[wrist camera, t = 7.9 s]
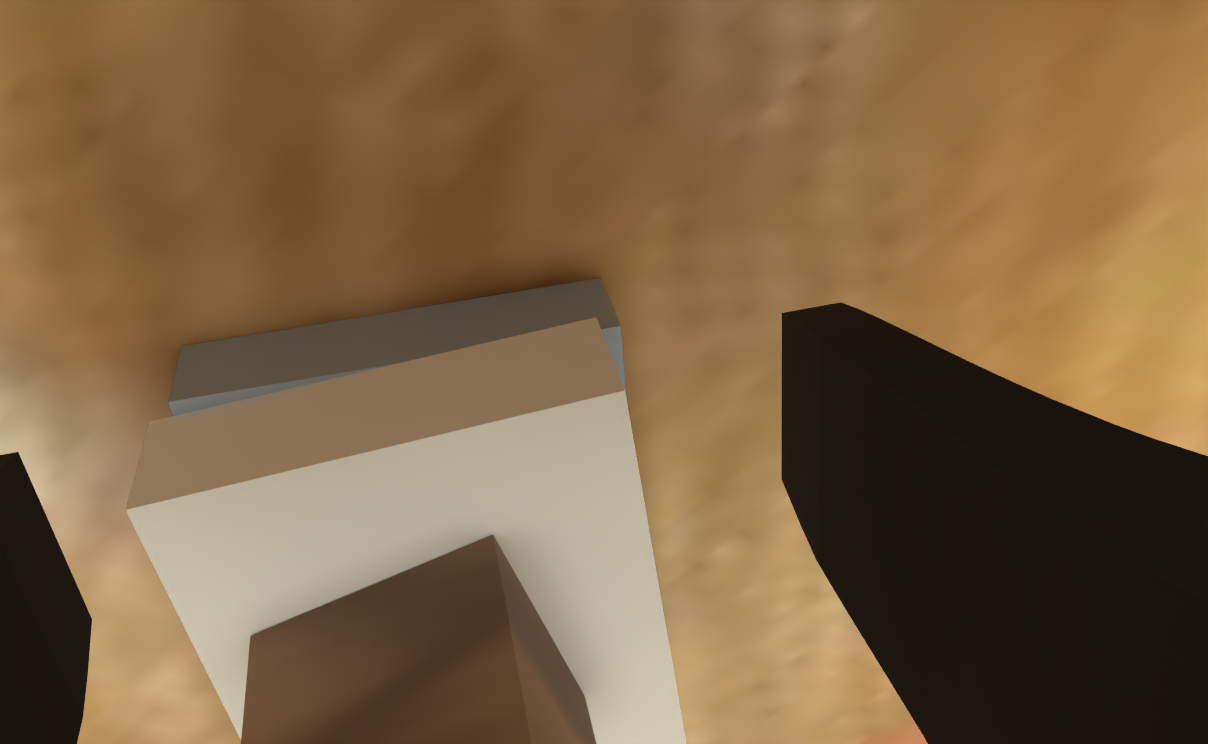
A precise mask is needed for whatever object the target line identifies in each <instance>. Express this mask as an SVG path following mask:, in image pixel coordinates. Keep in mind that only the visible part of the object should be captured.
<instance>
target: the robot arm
mask: <svg viewBox="0 0 1208 744" xmlns="http://www.w3.org/2000/svg"><path fill="white" fill-rule="evenodd" d="M782 481H783V483H784V486H785V488H786V491H787V493H788V495H789V498H790V500H791V503H792V505H793V507H794V510H795V512H796V515H797V517H798V519H799V522H800V524H801V527H802V529H803V531H804V533H805V535H806V538H807V540H808V542H809V544H810V547H811V549H812V551H813V553H814V555H815V558H816V560H817V562H818V563H819V565H820V567H821V568H822V570H823V572H824V574H825V575H826V577H827V579H828V580H829V582H830V584H831V585H832V587H833V589H834V590H835V592H836V594H837V595H838V597H839V599H840V600H841V602H842V604H843V605H844V607H845V609H846V610H847V612H848V614H849V615H850V617H851V618H852V620H853V622H854V623H855V625H856V627H857V628H858V630H859V632H860V633H861V635H862V636H863V638H864V640H865V641H866V643H867V645H868V646H869V648H870V649H871V651H872V653H873V654H874V656H875V658H876V659H877V661H878V662H879V664H880V666H881V667H882V669H883V671H884V672H885V674H886V675H887V677H888V679H889V680H890V682H891V684H892V685H893V687H894V688H895V690H896V692H897V693H898V695H899V697H900V698H901V700H902V701H903V703H904V705H905V706H906V708H907V710H908V711H909V713H910V714H911V716H912V718H913V719H914V721H915V723H916V724H917V726H918V727H919V729H920V731H921V732H922V734H923V736H924V737H925V739H926V741H927V743H928V744H1208V456H1205V455H1202V454H1199V453H1196V452H1193V451H1190V450H1187V449H1184V448H1180V447H1177V446H1174V445H1171V444H1168V443H1165V442H1162V441H1159V440H1156V439H1153V438H1150V437H1147V436H1144V435H1142V434H1139V433H1136V432H1133V431H1131V430H1128V429H1125V428H1122V427H1120V426H1117V425H1114V424H1112V423H1109V422H1107V421H1104V420H1102V419H1099V418H1097V417H1094V416H1092V415H1089V414H1087V413H1085V412H1082V411H1080V410H1077V409H1075V408H1072V407H1070V406H1067V405H1065V404H1062V403H1060V402H1057V401H1055V400H1052V399H1050V398H1048V397H1045V396H1043V395H1041V394H1039V393H1036V392H1034V391H1032V390H1030V389H1027V388H1025V387H1023V386H1020V385H1018V384H1016V383H1014V382H1012V381H1009V380H1007V379H1005V378H1003V377H1001V376H998V375H996V374H994V373H992V372H990V371H988V370H986V369H983V368H981V367H979V366H977V365H975V364H973V363H971V362H969V361H966V360H964V359H962V358H960V357H958V356H956V355H954V354H952V353H950V352H948V351H946V350H944V349H942V348H939V347H937V346H935V345H933V344H931V343H929V342H927V341H925V340H923V339H921V338H919V337H917V336H915V335H913V334H911V333H909V332H907V331H904V330H902V329H900V328H898V327H896V326H894V325H892V324H890V323H888V322H886V321H884V320H881V319H879V318H877V317H875V316H873V315H870V314H868V313H866V312H864V311H861V310H859V309H857V308H854V307H851V306H849V305H846V304H844V303H835V304H830V305H824V306H819V307H813V308H808V309H802V310H797V311H791V312H786V313H782ZM91 623H92V619H91V616H90V614H89V612H88V609H87V607H86V605H85V603H84V600H83V598H82V596H81V594H80V591H79V589H78V587H77V585H76V582H75V580H74V578H73V576H72V573H71V571H70V569H69V566H68V564H67V562H66V560H65V557H64V555H63V553H62V551H61V548H60V546H59V544H58V542H57V539H56V537H55V535H54V532H53V530H52V528H51V526H50V523H49V521H48V519H47V517H46V514H45V512H44V510H43V508H42V505H41V503H40V501H39V498H38V496H37V494H36V492H35V489H34V487H33V485H32V483H31V480H30V478H29V476H28V474H27V471H26V469H25V467H24V465H23V462H22V460H21V458H20V455H19V453H18V452H16V453H10V454H5V455H0V744H77V740H78V736H79V731H80V727H81V723H82V718H83V710H84V701H85V692H86V683H87V674H88V662H89V649H90V636H91Z"/></svg>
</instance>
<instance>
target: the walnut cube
mask: <svg viewBox="0 0 1208 744" xmlns="http://www.w3.org/2000/svg"><path fill="white" fill-rule="evenodd" d="M241 744H596V740H595V736H594V732H593V728H592V724H591V720H590V715H589V711H588V707H587V703H586V699H585V696H584V694H583V692H582V690H581V688H580V687H579V685H578V683H577V681H576V680H575V678H574V676H573V674H572V673H571V671H570V669H569V667H568V666H567V664H566V662H565V660H564V659H563V657H562V655H561V653H560V651H559V650H558V648H557V646H556V644H555V643H554V641H553V639H552V637H551V636H550V634H549V632H548V630H547V629H546V627H545V625H544V623H543V621H542V620H541V618H540V616H539V614H538V613H537V611H536V609H535V607H534V606H533V604H532V602H531V600H530V599H529V597H528V595H527V593H526V592H525V590H524V588H523V586H522V585H521V583H520V581H519V579H518V578H517V576H516V574H515V572H514V571H513V569H512V567H511V565H510V563H509V562H508V560H507V558H506V556H505V555H504V553H503V551H502V549H501V548H500V546H499V544H498V542H497V541H496V539H495V537H494V535H491V536H488V537H486V538H483V539H481V540H479V541H476V542H474V543H472V544H469V545H467V546H464V547H462V548H460V549H457V550H455V551H453V552H450V553H448V554H445V555H443V556H441V557H438V558H436V559H434V560H431V561H429V562H426V563H424V564H422V565H419V566H417V567H415V568H412V569H410V570H407V571H405V572H403V573H400V574H398V575H396V576H393V577H391V578H388V579H386V580H384V581H381V582H379V583H377V584H374V585H372V586H369V587H367V588H365V589H362V590H360V591H358V592H355V593H353V594H350V595H348V596H346V597H343V598H341V599H339V600H336V601H334V602H331V603H329V604H327V605H324V606H322V607H320V608H317V609H315V610H312V611H310V612H308V613H305V614H303V615H301V616H298V617H296V618H293V619H291V620H289V621H286V622H284V623H282V624H279V625H277V626H274V627H272V628H270V629H267V630H265V631H263V632H260V633H258V634H255V635H253V636H251V637H250V645H249V657H248V668H247V680H246V691H245V703H244V714H243V726H242V737H241Z"/></svg>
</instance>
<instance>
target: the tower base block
mask: <svg viewBox="0 0 1208 744" xmlns="http://www.w3.org/2000/svg"><path fill="white" fill-rule="evenodd" d="M594 317H596V318H597V320H598V323H599V326H600V328H601V331H602V333H603V336H604V338H605V341H606V343H607V346H608V348H609V351H610V354H611V356H612V359H613V361H614V364H615V366H616V369H617V371H618V374H619V376H620V379H621V382H622V384H623V387H624V389H625V393H626V383H625V371H624V359H623V347H622V334H621V325H620V323H619V321H618V318H617V316H616V314H615V311H614V309H613V306H612V304H611V302H610V299H609V297H608V295H607V292H606V290H605V288H604V285H603V283H602V281H601V278H597V279H591V280H585V281H579V282H573V283H567V284H561V285H554V286H548V287H542V288H536V289H530V290H524V291H518V292H512V293H505V294H499V295H493V296H487V297H481V298H475V299H469V300H463V301H456V302H450V303H444V304H438V305H432V306H426V307H420V308H413V309H407V310H401V311H395V312H389V313H383V314H377V315H371V316H364V317H358V318H352V319H346V320H340V321H334V322H328V323H322V324H315V325H309V326H303V327H297V328H291V329H285V330H279V331H273V332H266V333H260V334H254V335H248V336H242V337H236V338H230V339H224V340H217V341H211V342H205V343H199V344H193V345H187V346H182V348H181V352H180V356H179V360H178V364H177V368H176V372H175V376H174V380H173V384H172V388H171V392H170V396H169V401H168V403H169V406H170V409H171V412H172V414H173V416H175V415H180V414H184V413H188V412H192V411H197V410H201V409H205V408H210V407H214V406H218V405H222V404H227V403H231V402H235V401H239V400H244V399H248V398H252V397H257V396H261V395H265V394H269V393H274V392H278V391H282V390H286V389H291V388H295V387H299V386H304V385H308V384H312V383H316V382H321V381H325V380H329V379H333V378H338V377H342V376H346V375H350V374H355V373H359V372H363V371H368V370H372V369H376V368H380V367H385V366H389V365H393V364H398V363H402V362H406V361H410V360H415V359H419V358H423V357H427V356H432V355H436V354H440V353H445V352H449V351H453V350H457V349H462V348H466V347H470V346H475V345H479V344H483V343H487V342H492V341H496V340H500V339H504V338H509V337H513V336H517V335H522V334H526V333H530V332H534V331H539V330H543V329H547V328H552V327H556V326H560V325H564V324H569V323H573V322H577V321H581V320H586V319H590V318H594ZM626 399H627V395H626Z"/></svg>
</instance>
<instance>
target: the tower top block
mask: <svg viewBox="0 0 1208 744" xmlns="http://www.w3.org/2000/svg"><path fill="white" fill-rule="evenodd" d="M126 512H127V514H128V516H129V518H130V520H131V522H132V524H133V526H134V528H135V530H136V532H137V534H138V536H139V538H140V540H141V542H142V544H143V546H144V548H145V550H146V552H147V554H148V556H149V558H150V560H151V562H152V564H153V566H154V568H155V570H156V572H157V574H158V576H159V578H160V580H161V582H162V584H163V586H164V588H165V590H166V592H167V594H168V596H169V598H170V600H171V602H172V604H173V605H174V607H175V609H176V611H177V613H178V615H179V617H180V619H181V621H182V623H183V625H184V627H185V629H186V631H187V633H188V635H189V637H190V639H191V641H192V643H193V645H194V647H195V649H196V651H197V653H198V655H199V657H200V659H201V661H202V663H203V665H204V667H205V669H206V671H207V673H208V675H209V677H210V679H211V681H212V683H213V685H214V687H215V689H216V691H217V693H218V695H219V697H220V699H221V701H222V703H223V705H224V707H225V709H226V711H227V713H228V715H229V717H230V719H231V721H232V723H233V725H234V727H235V729H236V731H237V733H238V735H239V737H240V739H241V737H242V726H243V714H244V703H245V691H246V680H247V668H248V657H249V645H250V637H251V636H253V635H255V634H258V633H260V632H263V631H265V630H267V629H270V628H272V627H274V626H277V625H279V624H282V623H284V622H286V621H289V620H291V619H293V618H296V617H298V616H301V615H303V614H305V613H308V612H310V611H312V610H315V609H317V608H320V607H322V606H324V605H327V604H329V603H331V602H334V601H336V600H339V599H341V598H343V597H346V596H348V595H350V594H353V593H355V592H358V591H360V590H362V589H365V588H367V587H369V586H372V585H374V584H377V583H379V582H381V581H384V580H386V579H388V578H391V577H393V576H396V575H398V574H400V573H403V572H405V571H407V570H410V569H412V568H415V567H417V566H419V565H422V564H424V563H426V562H429V561H431V560H434V559H436V558H438V557H441V556H443V555H445V554H448V553H450V552H453V551H455V550H457V549H460V548H462V547H464V546H467V545H469V544H472V543H474V542H476V541H479V540H481V539H483V538H486V537H488V536H491V535H494V537H495V539H496V541H497V542H498V544H499V546H500V548H501V549H502V551H503V553H504V555H505V556H506V558H507V560H508V562H509V563H510V565H511V567H512V569H513V571H514V572H515V574H516V576H517V578H518V579H519V581H520V583H521V585H522V586H523V588H524V590H525V592H526V593H527V595H528V597H529V599H530V600H531V602H532V604H533V606H534V607H535V609H536V611H537V613H538V614H539V616H540V618H541V620H542V621H543V623H544V625H545V627H546V629H547V630H548V632H549V634H550V636H551V637H552V639H553V641H554V643H555V644H556V646H557V648H558V650H559V651H560V653H561V655H562V657H563V659H564V660H565V662H566V664H567V666H568V667H569V669H570V671H571V673H572V674H573V676H574V678H575V680H576V681H577V683H578V685H579V687H580V688H581V690H582V692H583V694H584V696H585V699H586V703H587V707H588V711H589V715H590V720H591V724H592V728H593V732H594V736H595V740H596V744H686V739H685V733H684V727H683V722H682V716H681V710H680V704H679V699H678V693H677V687H676V681H675V676H674V670H673V664H672V658H671V653H670V647H669V641H668V635H667V630H666V624H665V618H664V612H663V607H662V601H661V595H660V589H659V583H658V578H657V572H656V566H655V560H654V555H653V549H652V543H651V537H650V532H649V526H648V520H647V514H646V509H645V503H644V497H643V491H642V486H641V480H640V474H639V468H638V463H637V457H636V451H635V445H634V439H633V434H632V428H631V422H630V416H629V411H628V405H627V399H626V393H625V389H624V387H623V384H622V382H621V379H620V376H619V374H618V371H617V369H616V366H615V364H614V361H613V359H612V356H611V354H610V351H609V348H608V346H607V343H606V341H605V338H604V336H603V333H602V331H601V328H600V326H599V323H598V320H597V318H596V317H594V318H590V319H586V320H581V321H577V322H573V323H569V324H564V325H560V326H556V327H552V328H547V329H543V330H539V331H534V332H530V333H526V334H522V335H517V336H513V337H509V338H504V339H500V340H496V341H492V342H487V343H483V344H479V345H475V346H470V347H466V348H462V349H457V350H453V351H449V352H445V353H440V354H436V355H432V356H427V357H423V358H419V359H415V360H410V361H406V362H402V363H398V364H393V365H389V366H385V367H380V368H376V369H372V370H368V371H363V372H359V373H355V374H350V375H346V376H342V377H338V378H333V379H329V380H325V381H321V382H316V383H312V384H308V385H304V386H299V387H295V388H291V389H286V390H282V391H278V392H274V393H269V394H265V395H261V396H257V397H252V398H248V399H244V400H239V401H235V402H231V403H227V404H222V405H218V406H214V407H210V408H205V409H201V410H197V411H192V412H188V413H184V414H180V415H175V416H171V417H166V418H162V419H158V420H154V421H149V425H148V428H147V432H146V436H145V439H144V443H143V447H142V451H141V454H140V458H139V462H138V466H137V469H136V473H135V477H134V480H133V484H132V488H131V492H130V495H129V499H128V503H127V507H126Z"/></svg>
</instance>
